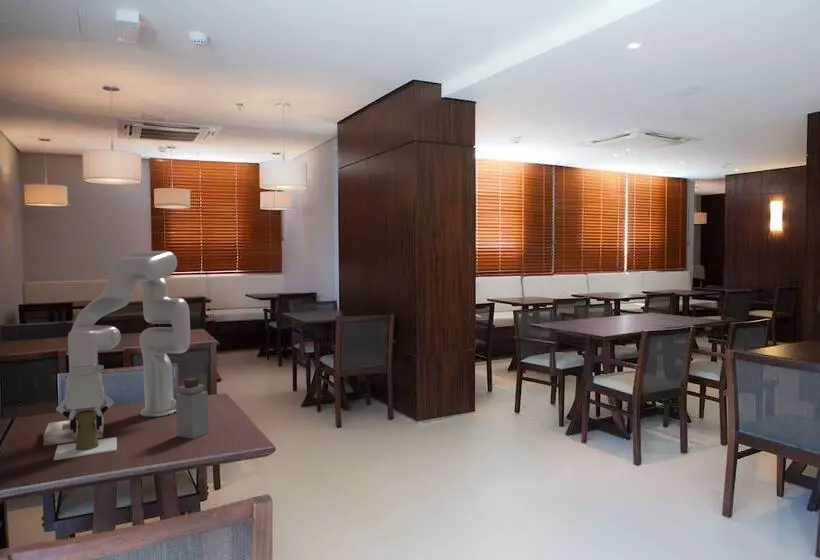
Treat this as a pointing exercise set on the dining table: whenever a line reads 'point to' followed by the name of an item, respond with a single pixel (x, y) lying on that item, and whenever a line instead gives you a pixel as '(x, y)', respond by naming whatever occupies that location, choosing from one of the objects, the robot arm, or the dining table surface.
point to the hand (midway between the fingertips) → (86, 429)
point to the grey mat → (71, 451)
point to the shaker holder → (65, 432)
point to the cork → (86, 430)
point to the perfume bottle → (192, 409)
